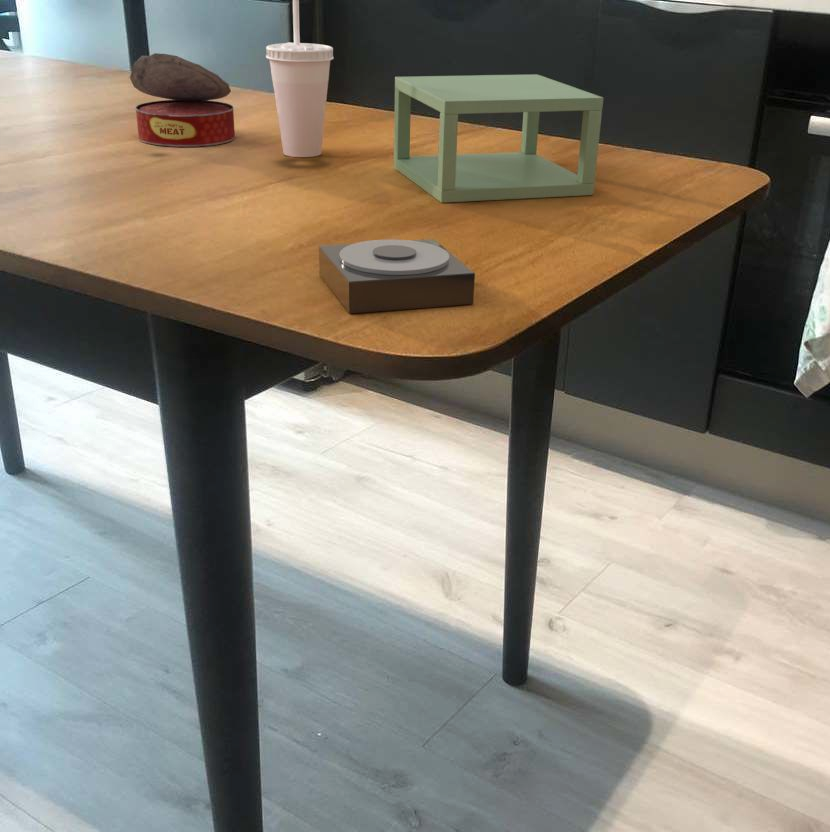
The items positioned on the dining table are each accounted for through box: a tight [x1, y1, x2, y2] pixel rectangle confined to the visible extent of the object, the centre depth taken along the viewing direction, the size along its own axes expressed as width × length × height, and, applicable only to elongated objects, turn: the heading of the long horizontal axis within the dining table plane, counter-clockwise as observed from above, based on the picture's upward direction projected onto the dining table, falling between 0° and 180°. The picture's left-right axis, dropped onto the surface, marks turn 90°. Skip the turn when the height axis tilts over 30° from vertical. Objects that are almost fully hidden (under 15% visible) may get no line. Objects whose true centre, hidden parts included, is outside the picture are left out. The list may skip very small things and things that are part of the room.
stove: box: [318, 238, 476, 315], centre depth 69 cm, size 8×8×2 cm
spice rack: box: [393, 73, 604, 204], centre depth 96 cm, size 14×14×8 cm
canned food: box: [129, 52, 236, 148], centre depth 111 cm, size 11×10×10 cm
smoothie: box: [265, 0, 335, 158], centre depth 103 cm, size 6×6×14 cm
